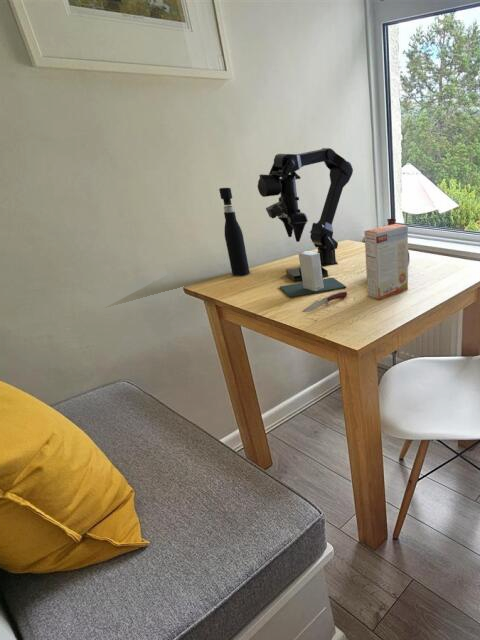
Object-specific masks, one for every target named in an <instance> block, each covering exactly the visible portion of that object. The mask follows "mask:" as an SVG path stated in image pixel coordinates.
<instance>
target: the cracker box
mask: <svg viewBox="0 0 480 640" xmlns="http://www.w3.org/2000/svg"><path fill="white" fill-rule="evenodd" d="M364 249H365V270H366V271H365V272H366V288H367V290H366V291H367V296H368V297H370V298H373V299H376V300H381V299H384V298H387V297H390V296H393V295H396V294H398V293H401V292H403V291H406V290H408V289H409V265H408V251H409V226H408V225H405V224H400V223H395V224H393V225H388V224H387V225H384V226H380V227H375V228H371V229H366V230H364Z"/></svg>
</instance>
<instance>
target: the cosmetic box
mask: <svg viewBox="0 0 480 640" xmlns="http://www.w3.org/2000/svg"><path fill="white" fill-rule="evenodd" d="M298 260H299V267H301V274H302V280H303V281H302V283H303V287H304V288H305V289H308V290H312V291H319V290H321V289H323V288H324V286H323V279H324V277H323V278H322V270H321V267H322V265H321V262H320V254H319V253H317V252H315V251H310V250H304V251H302V252H299V253H298Z"/></svg>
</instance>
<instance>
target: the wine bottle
mask: <svg viewBox="0 0 480 640" xmlns="http://www.w3.org/2000/svg"><path fill="white" fill-rule="evenodd" d="M218 191H219V196H220V199H221V200H223V205H224V206H223V211H224V212H223V215H224V221H225V222H224V240H225V244H226V250H227V254H228V259H229V264H230V269H231V275H232V276H233V277H244V276H247V275H250V268H249V262H248V256H247V250H246V245H245V238H244V233H243V230H242V228H241V226H240V224H239V222H238V220H237V216H236V211H234V210H235V209H234V206H233V205H232V199H233V193H232V188H231V187H220V188H219V189H218Z"/></svg>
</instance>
